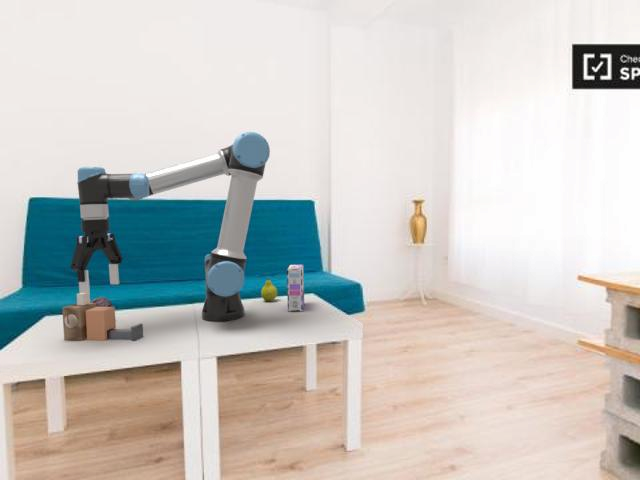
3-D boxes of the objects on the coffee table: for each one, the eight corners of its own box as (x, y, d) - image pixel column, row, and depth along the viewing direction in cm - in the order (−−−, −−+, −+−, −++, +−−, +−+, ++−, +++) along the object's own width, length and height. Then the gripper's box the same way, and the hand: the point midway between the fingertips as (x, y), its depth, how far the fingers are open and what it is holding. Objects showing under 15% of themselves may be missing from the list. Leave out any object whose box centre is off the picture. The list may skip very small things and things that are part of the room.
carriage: (116, 335, 130) (114, 306, 129) (105, 340, 125) (103, 310, 124) (98, 334, 131) (97, 306, 130) (87, 339, 126) (85, 310, 125)
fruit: (279, 299, 179) (278, 271, 179) (275, 302, 173) (275, 274, 172) (263, 299, 180) (262, 272, 179) (259, 302, 173) (258, 274, 172)
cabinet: (97, 333, 132) (96, 302, 131) (80, 341, 124) (78, 307, 123) (80, 333, 133) (79, 301, 132) (62, 340, 125) (60, 307, 124)
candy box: (303, 311, 156) (302, 268, 155) (287, 312, 156) (286, 268, 155) (304, 303, 170) (303, 263, 169) (290, 304, 170) (289, 264, 169)
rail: (143, 336, 128) (142, 323, 128) (134, 340, 124) (134, 327, 123) (92, 334, 131) (91, 322, 130) (82, 339, 126) (81, 326, 126)
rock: (78, 332, 139) (110, 329, 141) (74, 308, 137) (107, 305, 139) (89, 318, 150) (119, 315, 152) (86, 296, 148) (116, 293, 150)
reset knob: (90, 303, 129) (89, 292, 129) (83, 305, 126) (82, 294, 126) (84, 303, 130) (83, 292, 129) (77, 305, 127) (76, 294, 126)
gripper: (110, 218, 138) (115, 281, 140) (51, 220, 114) (58, 296, 115) (131, 217, 137) (135, 280, 139) (75, 219, 112) (82, 296, 114)
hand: (100, 288), depth 127 cm, fingers open, 13 cm apart
